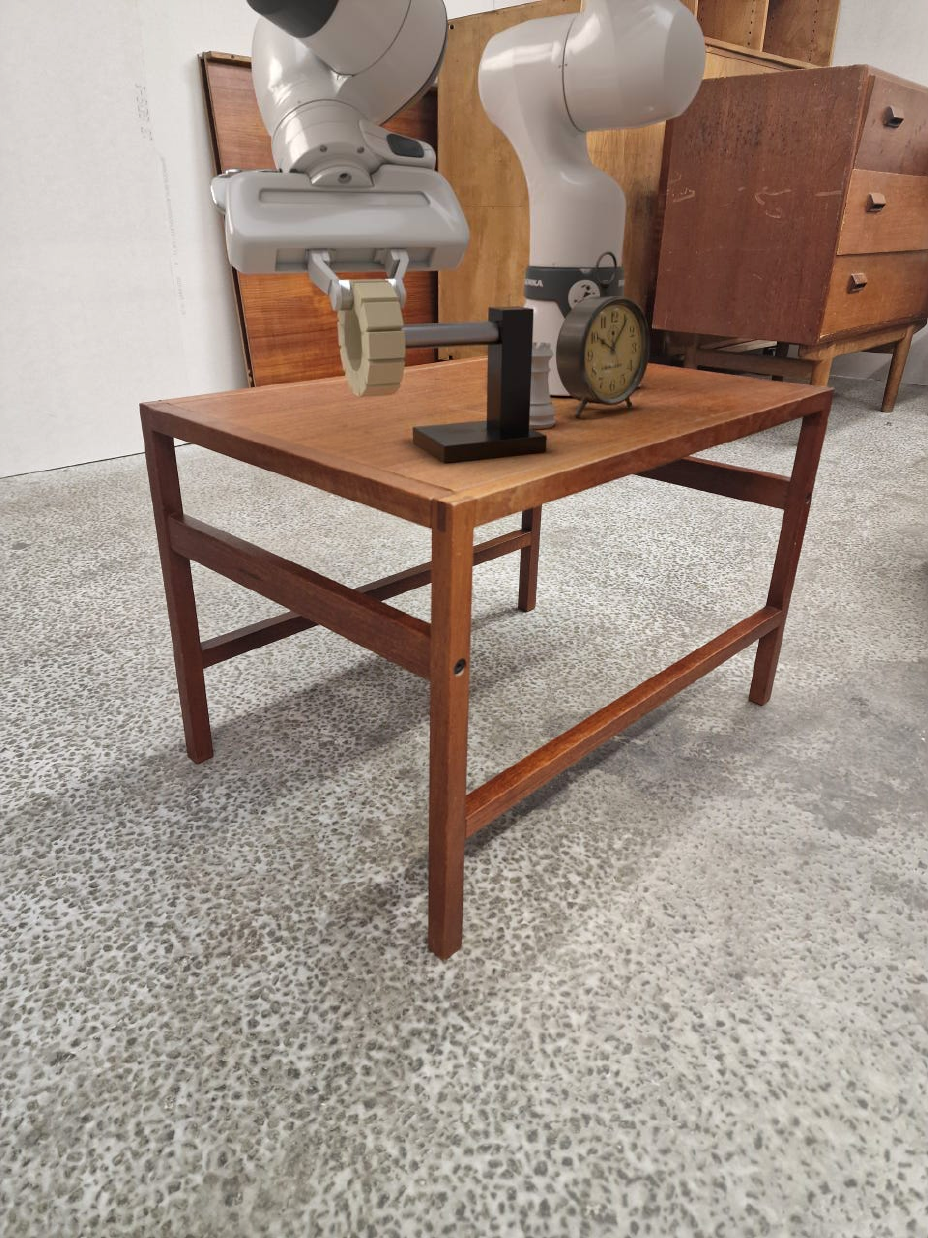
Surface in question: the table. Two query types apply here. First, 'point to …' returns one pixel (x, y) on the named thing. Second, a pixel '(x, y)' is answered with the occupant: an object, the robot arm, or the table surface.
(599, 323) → the alarm clock
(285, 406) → the table surface
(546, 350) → the rook chess piece
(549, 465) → the table surface
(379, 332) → the notched ring
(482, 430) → the peg stand
